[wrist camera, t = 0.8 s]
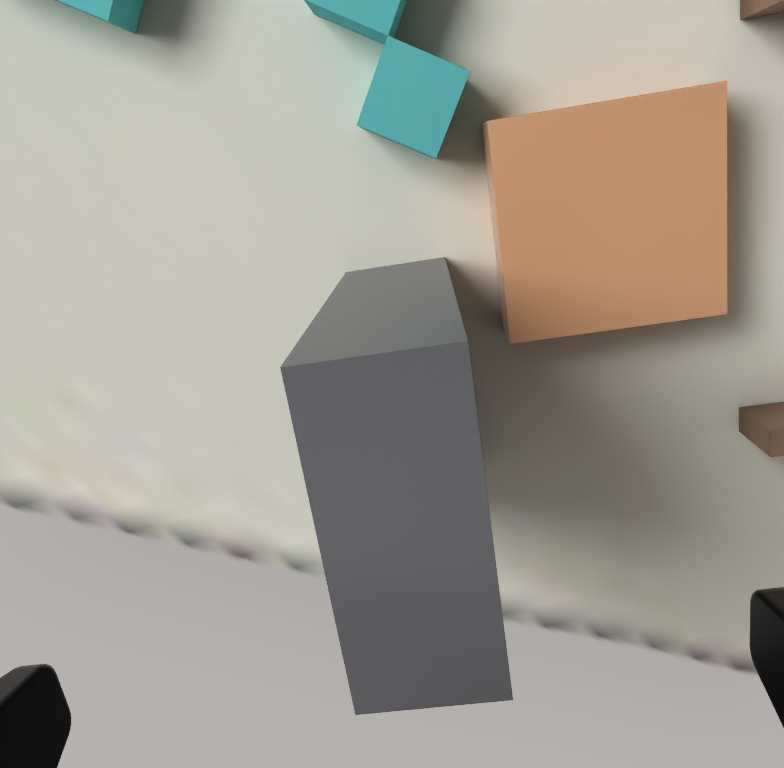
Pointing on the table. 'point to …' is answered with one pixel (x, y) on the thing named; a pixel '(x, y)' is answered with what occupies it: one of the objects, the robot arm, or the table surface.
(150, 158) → the table surface
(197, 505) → the table surface
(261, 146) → the table surface
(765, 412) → the walnut bay
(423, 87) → the alien figure
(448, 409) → the grey matte slab
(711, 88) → the terracotta tile
